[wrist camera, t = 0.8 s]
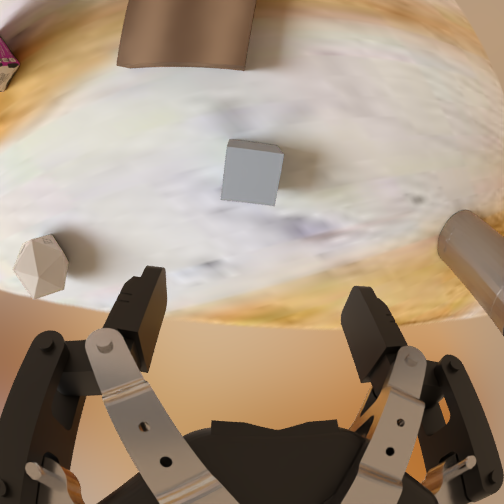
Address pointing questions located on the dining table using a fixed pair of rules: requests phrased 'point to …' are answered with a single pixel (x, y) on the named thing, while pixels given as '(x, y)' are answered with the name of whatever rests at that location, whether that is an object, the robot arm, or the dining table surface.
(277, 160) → the slate cube
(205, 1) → the walnut block
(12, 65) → the candy bar box
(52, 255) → the die
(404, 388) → the robot arm
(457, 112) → the dining table surface
